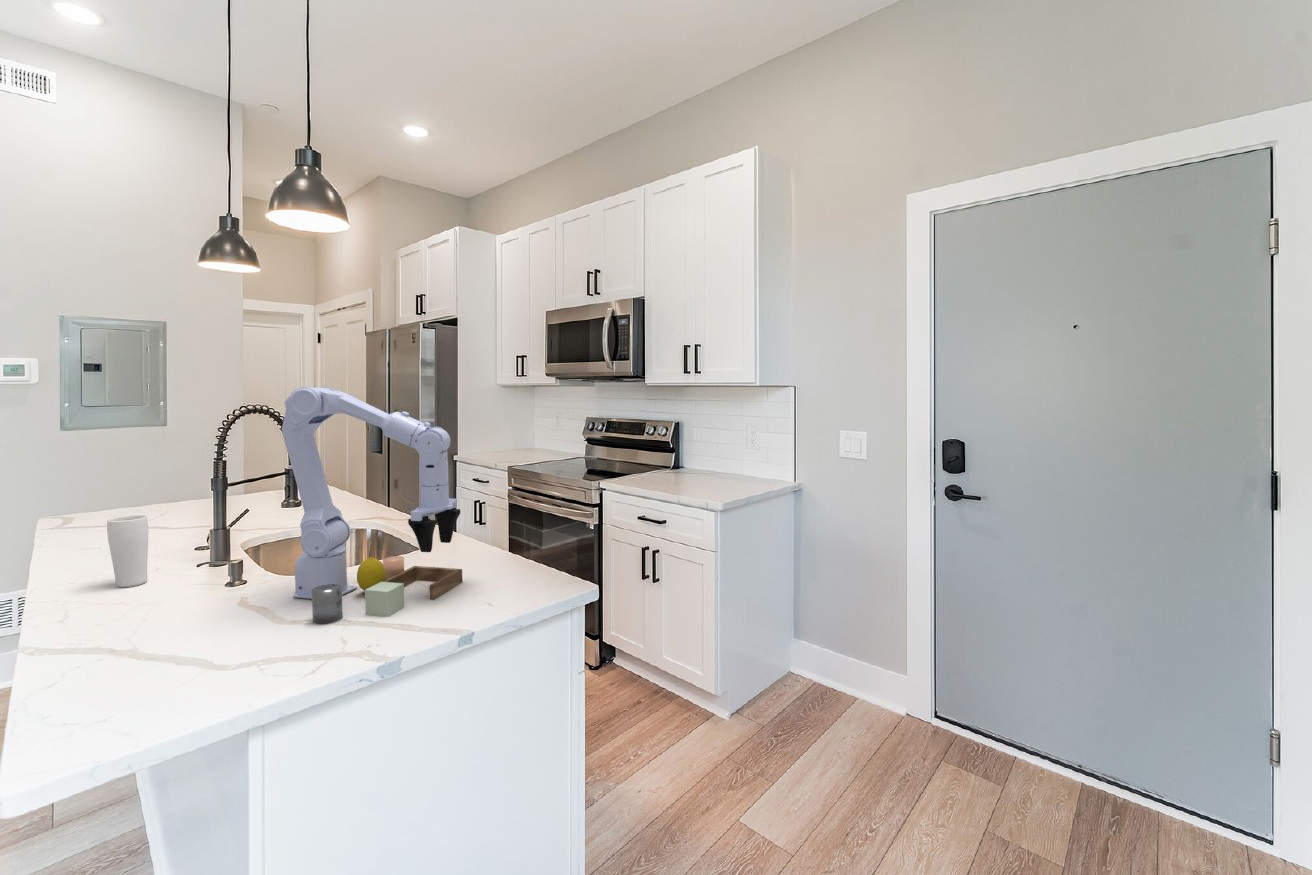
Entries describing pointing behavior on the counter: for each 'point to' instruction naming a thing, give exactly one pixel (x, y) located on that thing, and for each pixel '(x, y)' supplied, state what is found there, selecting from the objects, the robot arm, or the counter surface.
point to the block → (384, 598)
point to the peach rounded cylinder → (393, 566)
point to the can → (327, 604)
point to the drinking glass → (129, 549)
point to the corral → (430, 578)
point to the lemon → (370, 573)
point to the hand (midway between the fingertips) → (436, 546)
